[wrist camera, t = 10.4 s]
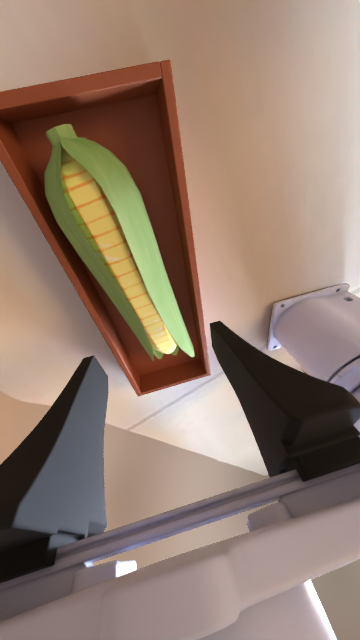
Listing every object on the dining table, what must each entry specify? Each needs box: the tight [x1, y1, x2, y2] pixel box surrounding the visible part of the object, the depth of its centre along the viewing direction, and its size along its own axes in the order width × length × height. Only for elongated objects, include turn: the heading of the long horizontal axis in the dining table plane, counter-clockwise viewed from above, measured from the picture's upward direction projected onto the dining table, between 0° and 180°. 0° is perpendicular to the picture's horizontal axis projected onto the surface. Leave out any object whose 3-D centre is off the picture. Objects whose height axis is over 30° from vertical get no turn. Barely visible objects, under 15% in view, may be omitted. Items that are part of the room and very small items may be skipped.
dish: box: [0, 60, 211, 396], centre depth 17 cm, size 9×24×3 cm, turn 10°
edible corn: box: [44, 124, 195, 361], centre depth 16 cm, size 5×20×5 cm, turn 17°
